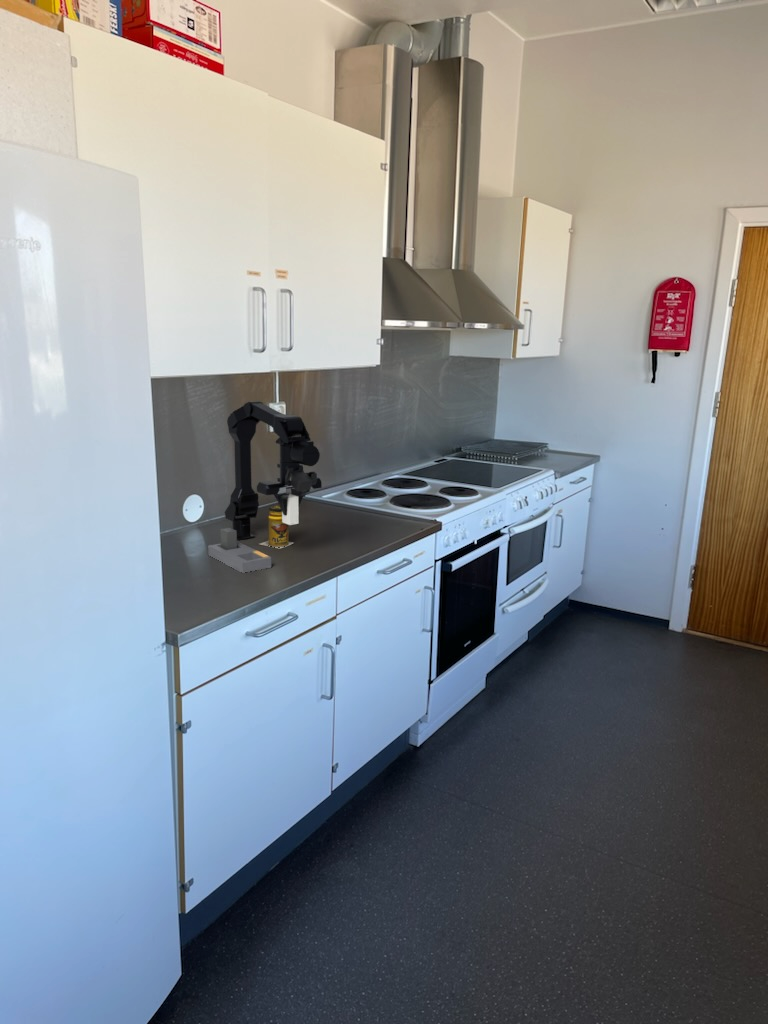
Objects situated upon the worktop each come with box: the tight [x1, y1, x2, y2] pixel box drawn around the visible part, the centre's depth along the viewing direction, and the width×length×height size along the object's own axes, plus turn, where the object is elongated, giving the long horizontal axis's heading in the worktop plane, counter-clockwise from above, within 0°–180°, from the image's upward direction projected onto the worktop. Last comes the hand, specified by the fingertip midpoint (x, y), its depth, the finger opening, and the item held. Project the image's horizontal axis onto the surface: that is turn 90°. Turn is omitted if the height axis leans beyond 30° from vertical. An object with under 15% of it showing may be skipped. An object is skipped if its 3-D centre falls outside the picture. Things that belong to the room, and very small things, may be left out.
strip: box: [207, 540, 272, 574], centre depth 211 cm, size 20×9×3 cm, turn 40°
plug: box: [282, 493, 299, 526], centre depth 213 cm, size 4×3×8 cm
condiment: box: [259, 504, 294, 550], centre depth 228 cm, size 7×8×12 cm
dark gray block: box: [219, 527, 238, 550], centre depth 215 cm, size 4×3×8 cm
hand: (290, 514), depth 214 cm, fingers closed on plug, 3 cm apart
